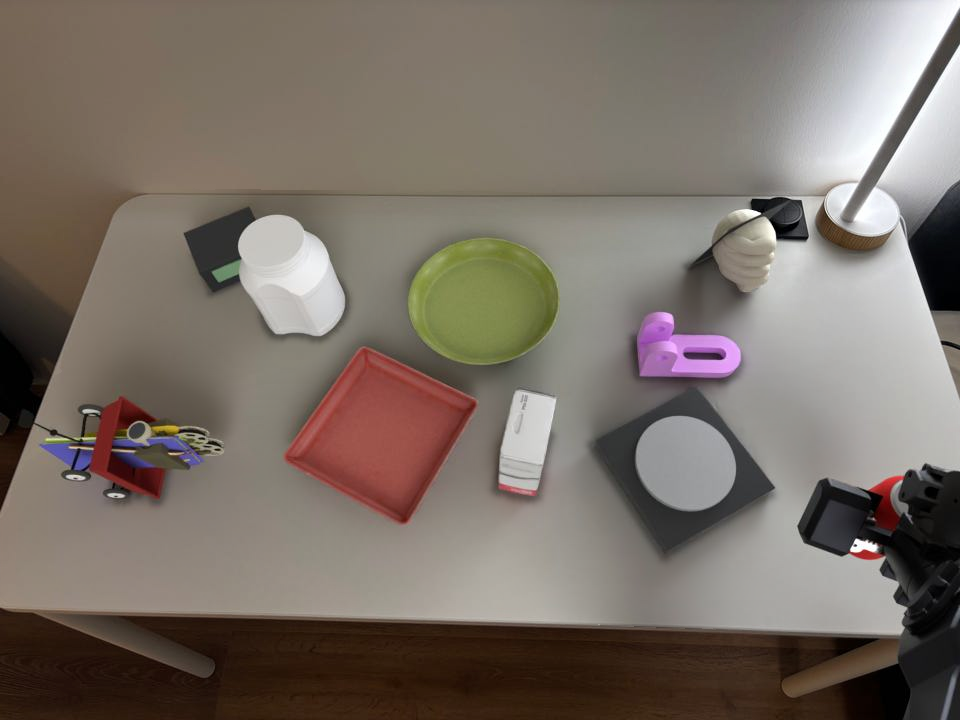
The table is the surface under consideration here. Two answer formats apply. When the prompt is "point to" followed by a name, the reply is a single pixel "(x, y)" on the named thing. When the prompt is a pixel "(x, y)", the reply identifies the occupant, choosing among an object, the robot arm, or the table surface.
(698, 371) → the bracket
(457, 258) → the saucer
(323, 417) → the plant saucer
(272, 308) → the jar
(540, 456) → the ink box
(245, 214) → the scale display
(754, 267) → the decorative object
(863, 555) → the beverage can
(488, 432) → the table surface
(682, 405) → the scale
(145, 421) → the toy cart
